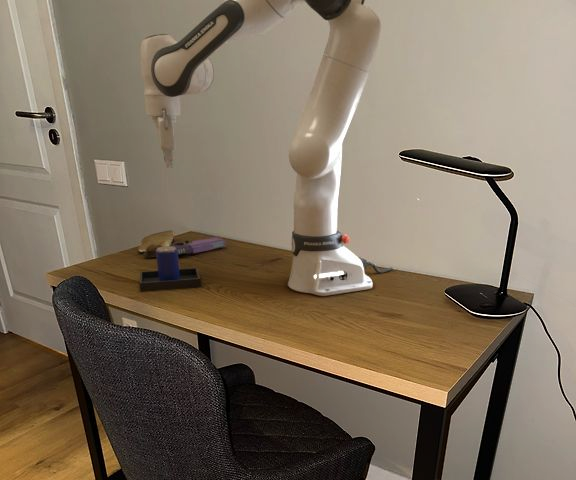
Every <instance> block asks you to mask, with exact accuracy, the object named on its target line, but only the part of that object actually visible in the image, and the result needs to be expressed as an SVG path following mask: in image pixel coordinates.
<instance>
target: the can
mask: <svg viewBox="0 0 576 480" xmlns="http://www.w3.org/2000/svg"><path fill="white" fill-rule="evenodd" d="M155 258H156V267H157V270H158V275H159V281H167V280H180V272H179V269H180V264H179V255H178V252H177V249H176V247H173V246H171V245H170V246H163V247H159V248H157V250H156V257H155Z"/></svg>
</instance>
